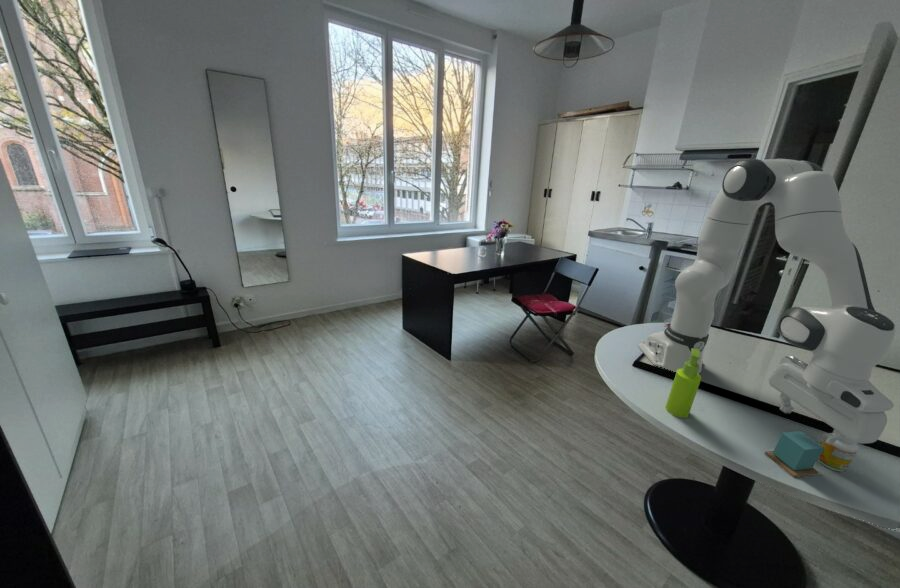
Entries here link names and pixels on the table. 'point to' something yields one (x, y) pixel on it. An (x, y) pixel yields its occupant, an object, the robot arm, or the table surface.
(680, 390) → the soap dispenser
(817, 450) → the teal rectangular block
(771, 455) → the wooden block stand
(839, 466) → the supplement bottle
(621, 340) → the table surface
